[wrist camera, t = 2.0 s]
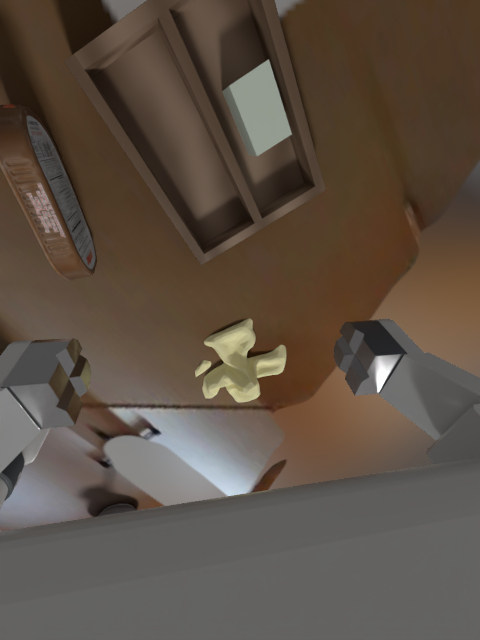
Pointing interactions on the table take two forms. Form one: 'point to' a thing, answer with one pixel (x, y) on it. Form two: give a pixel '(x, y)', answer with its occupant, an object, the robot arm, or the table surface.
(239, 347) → the cloth
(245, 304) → the table surface
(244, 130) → the sage block
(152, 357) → the table surface
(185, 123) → the caddy
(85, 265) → the tin
